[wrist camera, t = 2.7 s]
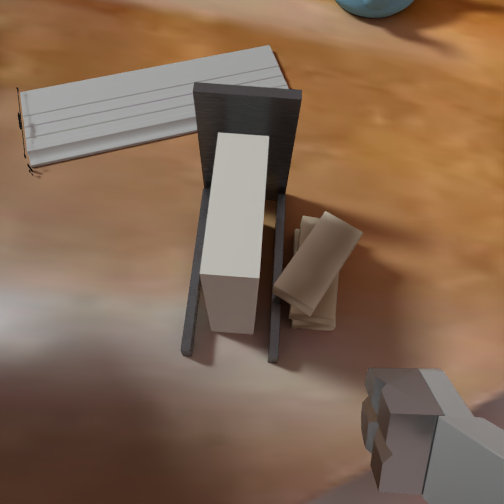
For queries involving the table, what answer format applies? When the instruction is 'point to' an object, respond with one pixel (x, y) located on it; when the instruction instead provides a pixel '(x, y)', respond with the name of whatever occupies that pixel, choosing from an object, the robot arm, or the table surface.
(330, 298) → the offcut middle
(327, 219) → the offcut top
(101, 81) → the baseboard molding
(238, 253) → the off-white wooden block
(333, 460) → the table surface
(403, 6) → the teapot
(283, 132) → the rack
